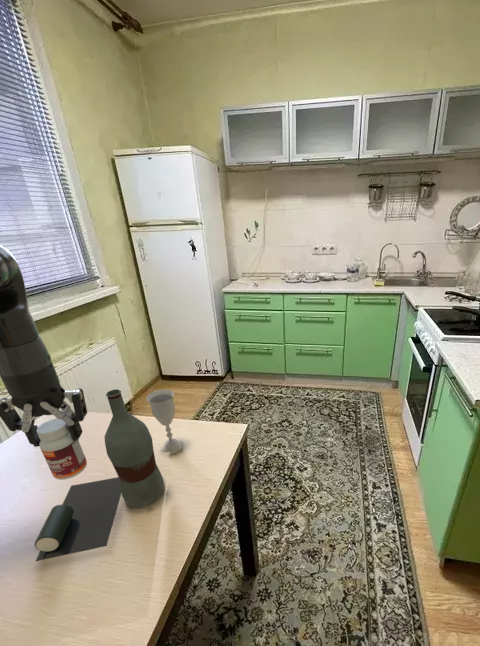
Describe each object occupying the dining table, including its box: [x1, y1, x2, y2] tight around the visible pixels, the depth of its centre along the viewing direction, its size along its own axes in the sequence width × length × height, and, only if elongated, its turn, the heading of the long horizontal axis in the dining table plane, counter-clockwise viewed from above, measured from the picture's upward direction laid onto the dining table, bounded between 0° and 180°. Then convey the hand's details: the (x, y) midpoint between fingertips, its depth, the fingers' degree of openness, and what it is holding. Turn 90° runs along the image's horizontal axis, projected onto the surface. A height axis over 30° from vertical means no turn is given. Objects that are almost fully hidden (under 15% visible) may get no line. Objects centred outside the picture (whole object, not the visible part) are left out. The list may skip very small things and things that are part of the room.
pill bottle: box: [37, 417, 88, 481], centre depth 65 cm, size 6×6×11 cm
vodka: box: [104, 389, 165, 509], centre depth 72 cm, size 9×9×30 cm
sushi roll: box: [34, 504, 74, 552], centre depth 68 cm, size 4×8×4 cm, turn 13°
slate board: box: [35, 476, 122, 562], centre depth 74 cm, size 13×20×2 cm, turn 13°
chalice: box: [145, 389, 183, 455], centre depth 91 cm, size 7×7×18 cm
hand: (58, 440), depth 64 cm, fingers closed on pill bottle, 6 cm apart
